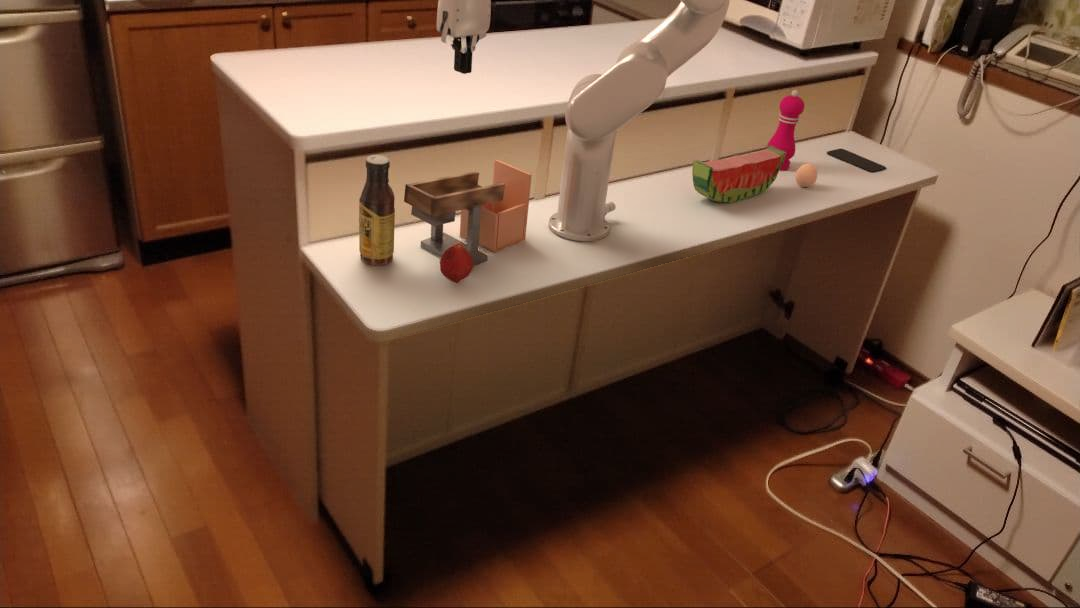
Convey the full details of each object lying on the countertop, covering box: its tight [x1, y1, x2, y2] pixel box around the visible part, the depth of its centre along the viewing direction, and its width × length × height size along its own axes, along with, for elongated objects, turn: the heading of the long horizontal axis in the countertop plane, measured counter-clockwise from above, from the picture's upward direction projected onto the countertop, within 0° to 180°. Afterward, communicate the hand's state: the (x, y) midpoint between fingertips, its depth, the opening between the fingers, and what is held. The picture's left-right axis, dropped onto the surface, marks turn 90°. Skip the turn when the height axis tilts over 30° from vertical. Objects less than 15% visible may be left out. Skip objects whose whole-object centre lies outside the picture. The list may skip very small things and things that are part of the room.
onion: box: [439, 241, 474, 284], centre depth 147 cm, size 6×6×8 cm
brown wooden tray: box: [403, 170, 505, 226], centre depth 153 cm, size 18×12×6 cm, turn 139°
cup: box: [459, 159, 533, 254], centre depth 162 cm, size 9×9×14 cm
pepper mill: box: [765, 89, 805, 171], centre depth 211 cm, size 7×7×20 cm
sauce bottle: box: [358, 154, 396, 266], centre depth 148 cm, size 7×6×20 cm
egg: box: [795, 162, 818, 188], centre depth 204 cm, size 5×5×6 cm
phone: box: [826, 148, 887, 173], centre depth 226 cm, size 7×1×15 cm
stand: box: [420, 203, 489, 268], centre depth 155 cm, size 6×12×12 cm, turn 49°
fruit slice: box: [691, 145, 786, 204], centre depth 193 cm, size 26×6×10 cm, turn 126°
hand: (462, 71), depth 160 cm, fingers closed
